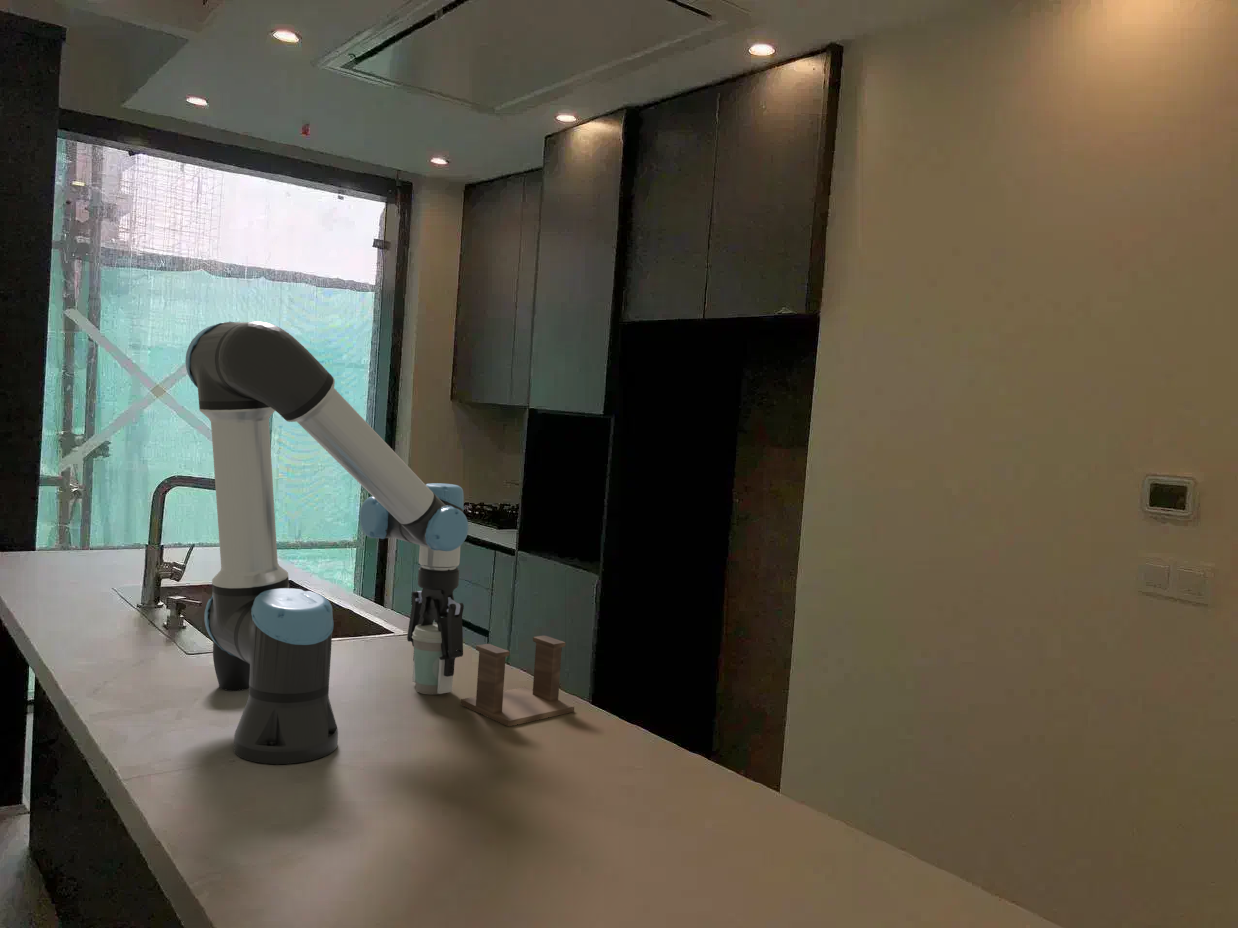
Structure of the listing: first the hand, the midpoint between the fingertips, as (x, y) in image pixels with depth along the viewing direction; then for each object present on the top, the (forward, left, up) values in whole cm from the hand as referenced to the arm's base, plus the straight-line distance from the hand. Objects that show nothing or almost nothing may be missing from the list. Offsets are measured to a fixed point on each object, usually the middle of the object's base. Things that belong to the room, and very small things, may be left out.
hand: (432, 686), depth 184 cm
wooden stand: (+7, -17, -1) cm, 18 cm away
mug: (-27, +20, -1) cm, 34 cm away
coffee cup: (0, 0, -1) cm, 1 cm away
